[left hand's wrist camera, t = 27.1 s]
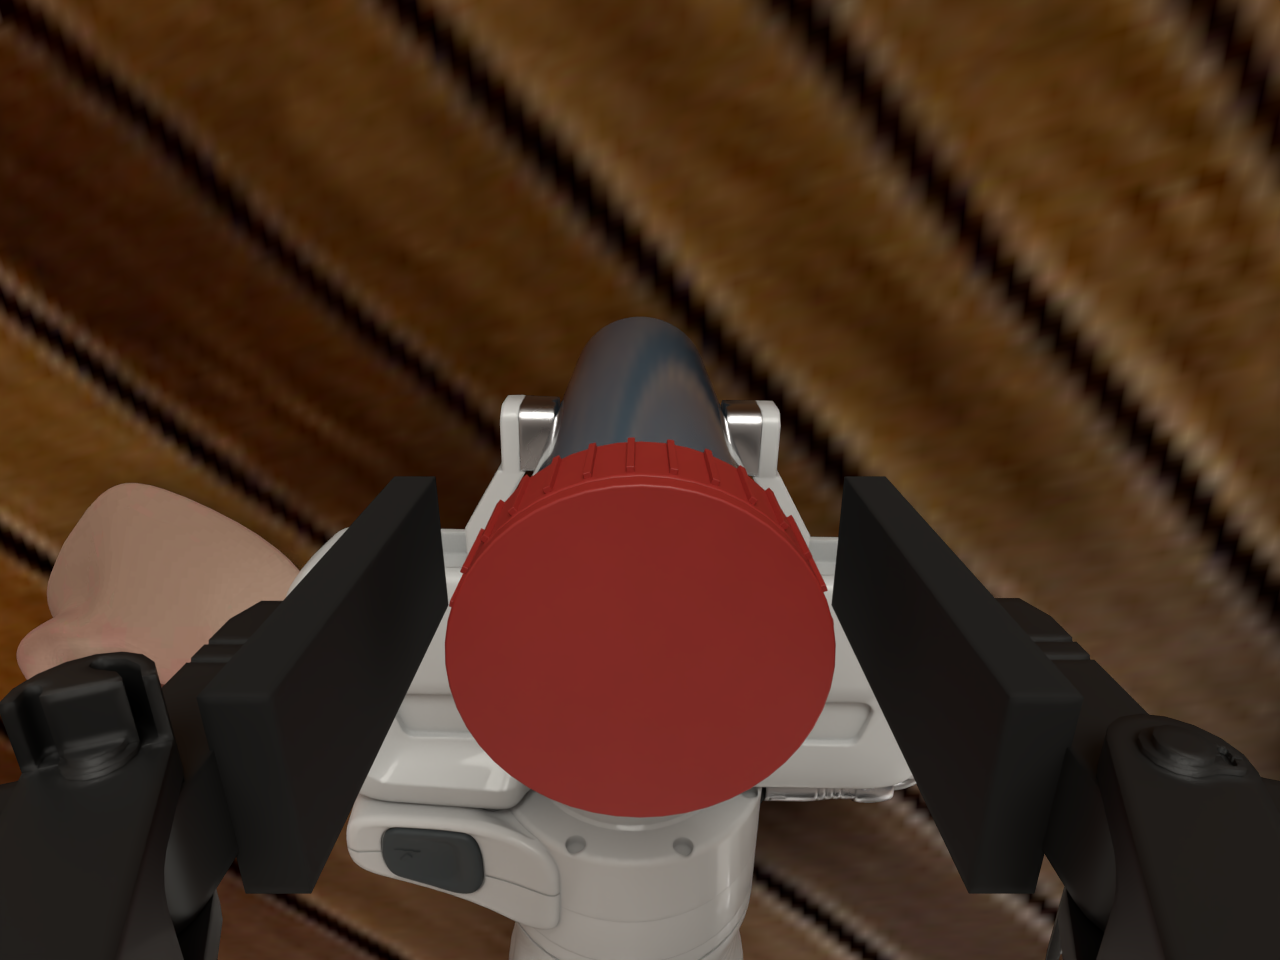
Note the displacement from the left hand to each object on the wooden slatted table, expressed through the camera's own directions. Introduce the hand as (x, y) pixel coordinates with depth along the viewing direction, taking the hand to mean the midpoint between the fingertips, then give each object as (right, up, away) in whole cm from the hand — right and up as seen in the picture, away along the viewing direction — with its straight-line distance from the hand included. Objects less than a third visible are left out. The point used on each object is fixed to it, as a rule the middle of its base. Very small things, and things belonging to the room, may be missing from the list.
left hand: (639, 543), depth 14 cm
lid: (0, -1, -3) cm, 4 cm away
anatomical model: (-18, -5, +16) cm, 25 cm away
